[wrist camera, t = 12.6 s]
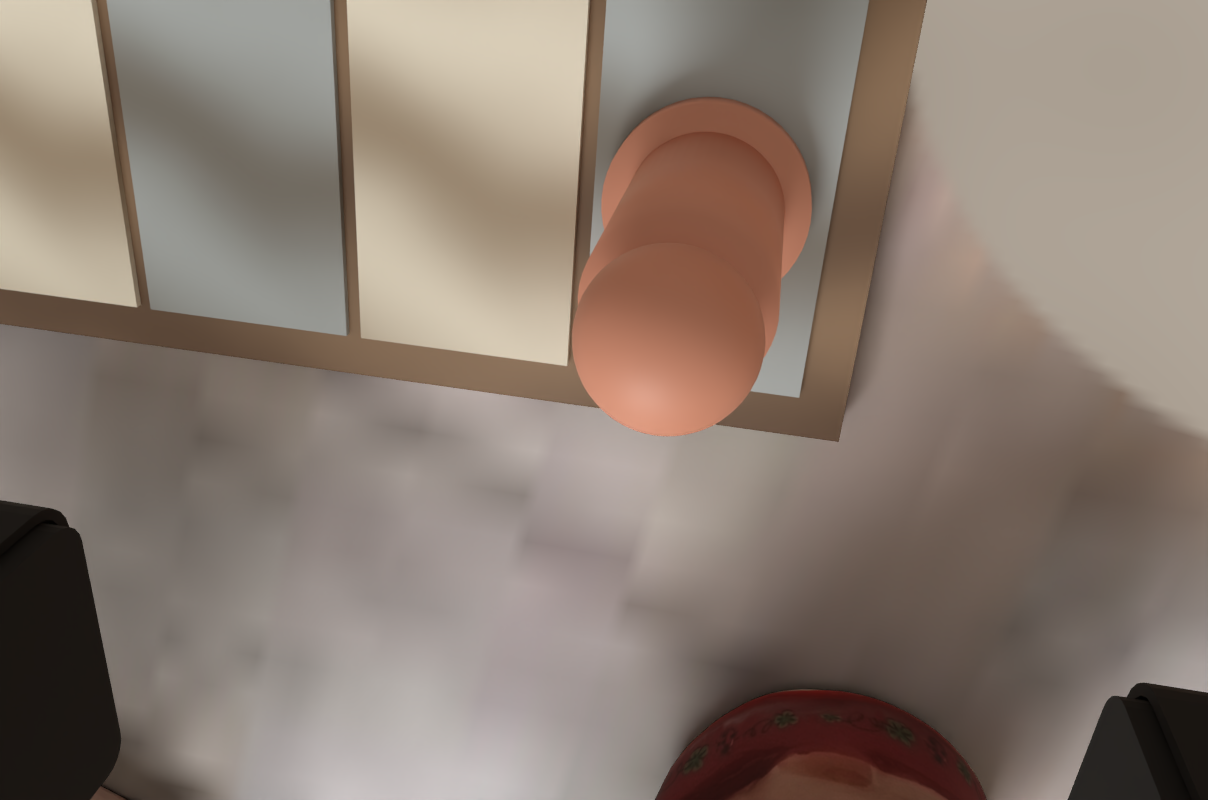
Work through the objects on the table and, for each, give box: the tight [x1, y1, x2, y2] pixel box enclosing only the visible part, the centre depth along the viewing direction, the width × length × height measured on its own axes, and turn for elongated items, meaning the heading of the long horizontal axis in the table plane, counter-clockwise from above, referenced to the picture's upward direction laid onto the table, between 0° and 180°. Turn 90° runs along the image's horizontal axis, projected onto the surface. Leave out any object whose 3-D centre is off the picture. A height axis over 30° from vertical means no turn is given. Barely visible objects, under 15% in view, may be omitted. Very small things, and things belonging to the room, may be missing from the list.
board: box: [0, 0, 927, 442], centre depth 26 cm, size 12×26×1 cm, turn 86°
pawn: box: [572, 97, 812, 436], centre depth 20 cm, size 5×5×10 cm
